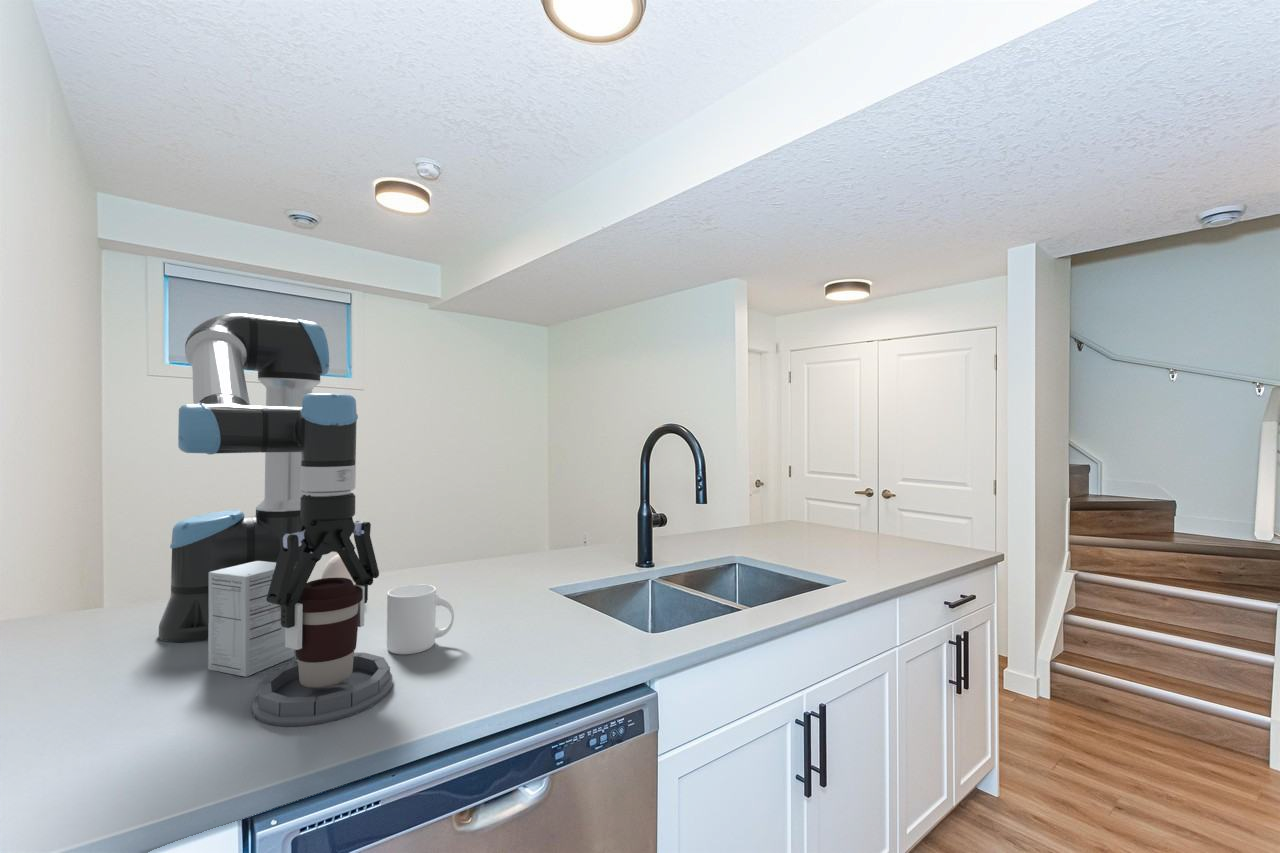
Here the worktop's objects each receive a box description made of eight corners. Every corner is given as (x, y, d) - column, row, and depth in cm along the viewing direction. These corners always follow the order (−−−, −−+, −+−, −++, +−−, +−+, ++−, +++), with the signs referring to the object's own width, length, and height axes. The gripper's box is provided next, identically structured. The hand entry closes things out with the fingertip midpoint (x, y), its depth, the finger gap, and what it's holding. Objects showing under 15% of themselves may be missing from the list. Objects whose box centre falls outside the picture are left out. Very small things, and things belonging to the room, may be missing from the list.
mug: (450, 653, 106) (451, 595, 106) (381, 657, 103) (382, 597, 103) (456, 636, 114) (457, 582, 114) (392, 639, 112) (393, 584, 112)
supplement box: (296, 657, 103) (297, 563, 103) (246, 678, 94) (247, 576, 94) (257, 649, 106) (258, 559, 106) (205, 669, 97) (206, 570, 97)
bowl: (223, 707, 84) (223, 687, 84) (339, 660, 101) (339, 643, 101) (308, 739, 76) (308, 716, 76) (418, 682, 93) (418, 664, 93)
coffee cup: (308, 666, 93) (310, 574, 93) (371, 664, 94) (372, 574, 94) (275, 694, 83) (276, 592, 83) (345, 693, 84) (347, 591, 84)
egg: (353, 595, 140) (353, 548, 140) (363, 603, 134) (364, 554, 134) (316, 601, 134) (317, 553, 134) (326, 610, 129) (326, 559, 129)
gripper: (270, 502, 77) (268, 667, 77) (403, 487, 97) (402, 617, 97) (237, 499, 80) (235, 657, 80) (372, 484, 101) (371, 611, 101)
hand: (326, 635), depth 89 cm, fingers closed on coffee cup, 10 cm apart
